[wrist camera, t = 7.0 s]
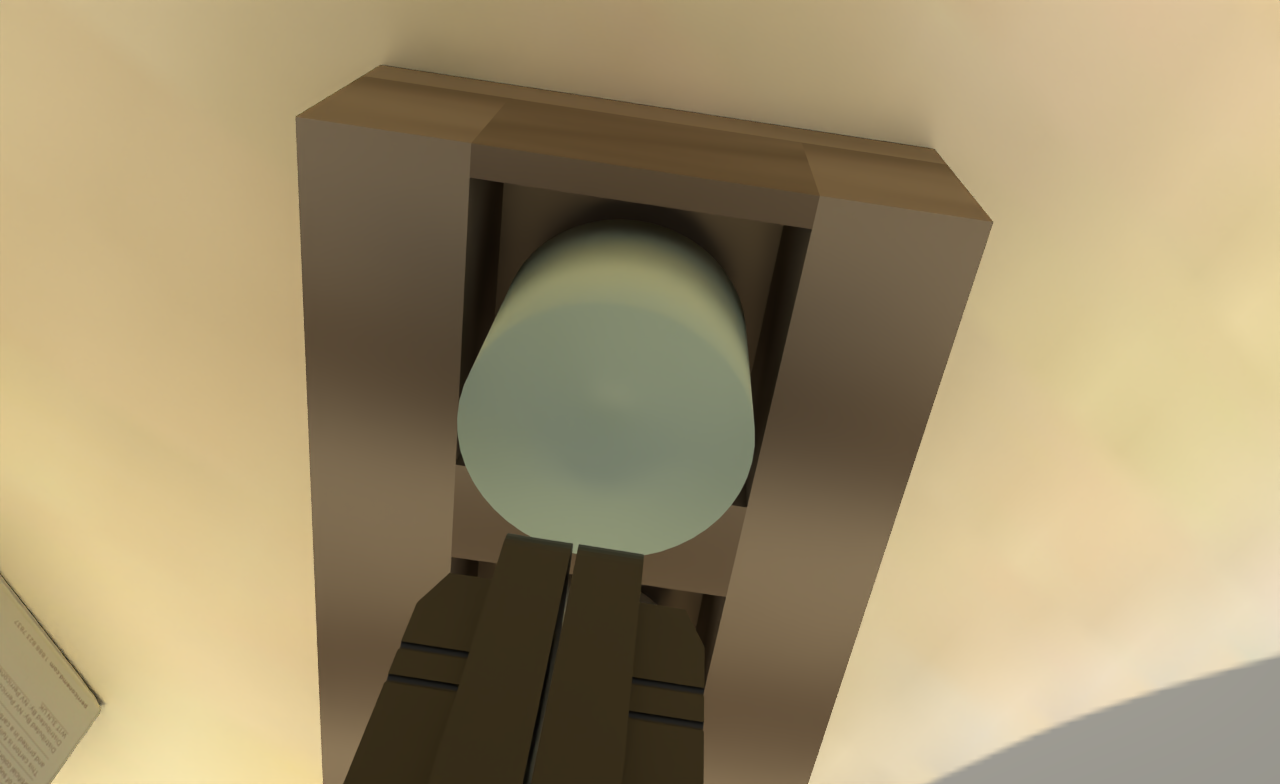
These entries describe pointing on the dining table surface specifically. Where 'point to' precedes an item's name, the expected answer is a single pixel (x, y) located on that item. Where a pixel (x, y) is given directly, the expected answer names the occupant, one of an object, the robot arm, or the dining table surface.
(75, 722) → the supplement box
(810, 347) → the frame
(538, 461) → the sage button
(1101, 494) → the dining table surface
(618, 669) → the robot arm
